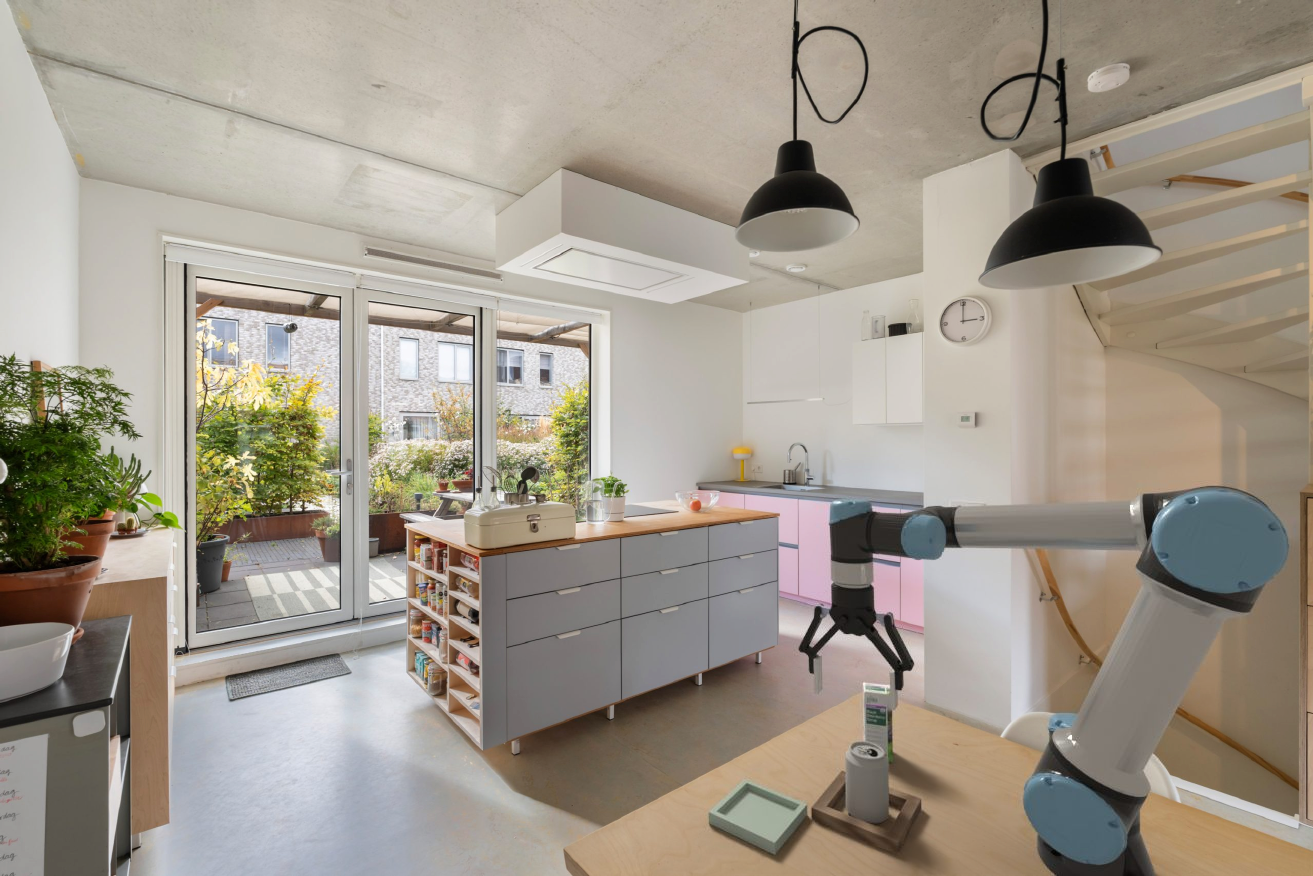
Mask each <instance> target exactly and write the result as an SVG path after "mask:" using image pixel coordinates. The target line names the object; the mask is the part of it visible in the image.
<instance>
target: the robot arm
mask: <svg viewBox="0 0 1313 876" xmlns="http://www.w3.org/2000/svg"><path fill="white" fill-rule="evenodd" d="M828 526H829V538H830V540H829V541H830V542H829V543H830V580H831V581H832V583H831V584H830V587H831V588H830V589H831V590H830V594H831V595H830V596H831V597H830V599H831V600H830V601H831V607H829V606H825V604H824V603H819V604H818V605H816V606H815V607H814V609H813V610H814V611H813V619H811V622H810V625H809V627H808V629H807V630H806V632H805V634H804V636H803V638H802V640H801V642H800V644H799V646H798V647H797V648H798V652H799V653H802V654H806V656H807V657H808V672H809V674H811V675H813V687H814V689H813V690H814V694H816V695H819V694H820V693H821V691H822V690H823V689H824V688H823V658H822V657H823V656H822V654H818V653H819V652H820V651H821V650H822V649H823V647H824V646H825V645H826V644H827V643H828V642H829V641H830V640H831V639H832V637H834V636H835V635H836V634H837V633H838V631H840V632H841V633H843V635H854V636H856V637H862V636H865V637H866V638H867V640H868V641H870V642H871V643H872V645H874V648H876V650H877V651H878V652H879V653H880V655H881V656H882V657H883V658H884V659H885V661H886V662H887V663H888V664H889V666H890V667H891V669H890V671H889V685H890V704H891V710H892V711H896V709H897V708H898V706H899V694H898V691H902V690H903V688H904V681H905V680H904V672H911V671H912V670H913V668H914V666H915V662H914V660H913V658H912V656H911V653H910V651H909V650H908V648H907V646H906V644H905V642H904V640H903V639H902V636H901V634H900V633H899V630H898V629H897V626H896V625H895V619H894V614H893V612H889V611H888V612H886V613H877V611H876V610H875V609H876V608H875V588H874V585H872V583H874V581H875V579H874V577H875V575H874V555H882V556H883V555H884V556H891V557H899V558H907V559H912V560H913V559H914V560H916V561H921V560H928V561H929V560H931V561H936V560H939V559H940V558H941V557H942V556H943V553H944V552H945V550H946V549H964V548H967V549H1015V550H1017V549H1022V550H1025V549H1026V550H1032V549H1033V550H1034V549H1035V550H1078V551H1079V550H1081V551H1082V550H1083V551H1084V550H1085V551H1086V550H1088V551H1091V550H1092V551H1139V552H1141V554H1140V556H1139V558H1138V560H1137V562H1136V564H1135V567H1134V570H1135V572H1136V574H1137V575H1138V577H1139V580H1141V581H1140V582H1141V587H1140V589H1139V590H1138V593H1137V595H1136V597H1135V599H1134V601H1133V603H1132V605H1131V607H1130V609H1129V611H1128V613H1127V615H1126V617H1125V619H1124V621H1123V623H1122V625H1121V627H1120V629H1119V630H1118V632H1117V635H1116V637H1115V639H1114V641H1113V643H1112V644H1111V647H1110V649H1109V651H1108V653H1107V655H1106V657H1105V659H1104V660H1103V663H1102V665H1101V667H1100V669H1099V671H1098V672H1097V675H1096V677H1095V679H1094V681H1093V683H1092V685H1091V687H1090V689H1089V691H1088V693H1087V695H1086V697H1085V699H1084V700H1083V703H1082V705H1081V706H1080V709H1079V710H1078V712H1077V713H1070V712H1058V713H1054V714H1052V715H1050V717H1049V722H1048V726H1047V730H1048V736H1049V737H1048V742H1047V745H1046V747H1045V749H1044V751H1043V753H1042V754H1041V756H1040V758H1039V761H1038V763H1037V765H1036V766H1035V768H1034V771H1033V772H1032V774H1031V776H1030V777H1029V778H1028V779H1027V780H1026V782H1025V784H1024V785H1023V786H1024V787H1023V795H1022V803H1023V809H1024V812H1025V815H1026V816H1027V819H1028V821H1029V823H1030V825H1031V826H1032V828H1033V830H1034V831H1035V832H1036V833H1037V835H1036V842H1037V843H1036V845H1037V846H1036V849H1037V854H1038V855H1039V857H1040V859H1041V861H1042V862H1043V864H1044V865H1045V866H1046V867H1047V868H1048V869H1049V870H1050V871H1051V872H1052V873H1054V874H1055V875H1056V876H1057V875H1058V876H1156V871H1155V868H1154V865H1153V863H1152V860H1151V858H1150V855H1149V853H1148V849H1147V846H1146V844H1145V841H1144V839H1143V837H1142V834H1141V809H1142V807H1143V805H1144V803H1145V802H1146V799H1147V798H1148V796H1149V794H1150V793H1151V791H1152V790H1151V789H1152V788H1151V783H1150V781H1149V778H1148V777H1147V775H1146V773H1145V772H1144V770H1145V768H1146V766H1147V764H1148V763H1149V761H1150V758H1151V757H1152V755H1153V753H1154V752H1155V750H1156V747H1157V746H1158V745H1159V743H1160V741H1161V739H1162V737H1163V735H1164V733H1165V732H1166V729H1167V728H1168V726H1169V724H1170V722H1171V721H1172V719H1173V717H1174V715H1175V713H1176V711H1177V709H1178V708H1179V706H1180V704H1181V702H1183V701H1182V700H1183V699H1184V696H1186V693H1187V691H1188V689H1189V688H1190V685H1191V684H1192V682H1193V680H1194V678H1195V677H1196V675H1197V673H1198V671H1199V669H1200V668H1201V666H1202V664H1203V662H1204V660H1205V659H1206V657H1207V655H1208V653H1209V651H1210V650H1211V647H1212V645H1213V644H1214V642H1215V641H1216V638H1218V637H1217V636H1219V633H1220V631H1221V629H1222V627H1223V626H1224V624H1225V622H1226V621H1227V620H1229V619H1233V618H1237V617H1243V616H1247V615H1250V613H1251V612H1252V609H1253V607H1254V605H1255V604H1256V603H1257V600H1258V598H1259V597H1260V595H1261V594H1262V591H1263V590H1264V589H1265V586H1266V585H1267V584H1268V582H1270V581H1271V580H1273V579H1274V577H1275V576H1276V575H1278V574H1279V573H1280V572H1281V571H1282V569H1283V568H1284V567H1285V564H1286V561H1287V560H1288V556H1289V552H1290V545H1289V537H1288V534H1287V533H1288V532H1287V530H1286V528H1285V526H1284V524H1283V523H1282V521H1281V519H1280V517H1278V516H1277V515H1276V513H1274V512H1273V511H1272V510H1271V508H1270V506H1268V504H1267V503H1265V502H1264V501H1263V500H1261V499H1260V498H1258V497H1257V496H1255V495H1253V494H1251V493H1249V492H1247V491H1244V490H1241V489H1238V488H1235V487H1231V486H1225V485H1205V486H1197V487H1194V488H1187V489H1181V490H1175V491H1174V490H1173V491H1164V492H1155V493H1154V492H1151V493H1149V492H1148V493H1140V494H1139V495H1138V496H1136V497H1135V498H1134V499H1133V500H1117V501H1116V500H1115V501H1114V500H1113V501H1111V500H1110V501H1089V502H1088V501H1085V502H1080V501H1079V502H1058V503H1057V502H1055V503H1031V504H1030V503H1029V504H1028V503H1025V504H1023V503H1022V504H1000V505H999V504H997V505H993V504H992V505H991V504H990V505H971V506H969V505H967V506H965V505H964V506H942V505H931V506H930V505H929V506H926V507H925V508H921V509H917V510H912V511H908V512H903V513H902V512H901V513H899V512H880V511H874V510H873V505H872V502H871V501H870V500H867V499H861V498H842V499H834V500H833V501H832V502H831V503H830V505H829V522H828ZM828 615H829V616H830V618H831V620H832V621H833V622H834V624H832V626H831V627H830V628H829V629H828V630H827V631H826V633H825V634H823V636H822V637H821V638H820V639H819V640H818V641H817V642H816V643H815V644H814V646H811V643H812V641H813V639H814V637H815V635H816V633H817V631H818V629H819V627H820V625H821V623H822V620H823V619H825V618H826V617H827V616H828ZM876 622H879V623H880V625H881V626H882V627H884V629H885V632H886V633H887V636H888V638H889V640H890V642H891V643H892V646H893V647H894V650H895V652H896V653H897V654H896V653H895V652H894V651H893V649H892V648H891V647H890V646H889V644H888V643H887V642H886V640H885V639H884V638H883V637H882V635H881V634H880V633H879V631H878V629H877V628H876V627H875V626H874V625H875V624H876Z"/></svg>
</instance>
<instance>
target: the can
mask: <svg viewBox="0 0 1313 876" xmlns="http://www.w3.org/2000/svg"><path fill="white" fill-rule="evenodd" d="M889 763H890V762H889V761H888V759H887V757H886V756H885V751H884V750H883V749H882V748H881V747H880V746H878V745H876V744H874V743H871V742H866V741H863V740H858V741H857V740H856V741H853V742H851V743H850V744H849V746H848V750H847V751H846V752H845V772H846V792H845V808H846V810H847V812H848V813H849V815H850V816H852V817H854V818H857V819H859V820H862V821H864V822H867V823H869V824H872V825H874V826H877V825H879V824H881V823H883V822H884V821H886V820H887V819H888V818H889V816H890V808H889V807H890V806H889V805H890V804H889V787H890V786H889V785H890V783H889V782H890V781H889V777H890V776H889V774H890V771H889V770H890V769H889V767H890V765H889Z"/></svg>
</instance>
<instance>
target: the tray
mask: <svg viewBox="0 0 1313 876" xmlns="http://www.w3.org/2000/svg"><path fill="white" fill-rule="evenodd" d="M807 816H808V803H806V802H803V801H801V800H798V799H796V798H793V797H791V796H788V795H786V794H783V793H782V792H779V791H776V790H774V789H771V788H769V787H766V786H763V785H761V784H759V783H756V782H754V781H751V780H749V779H747V778H744V779H743V780H742V781H741V782H740V783H738V784H737V785H736V786H735V787H734V788H733V789H732V790H731V791H729V793H728V794H726V796H724V797H723V798H722V799H721V800H719V802H718V803H717V804H715V806H714V807H712V808H711V809H710V810H709V811H708V824H709V825H712V826H714V827H715V828H718V829H721V830H722V831H724V832H727V834H730V835H732V836H734V837H736V838H739V839H741V840H743V841H745V842H747V843H749V844H751V845H753V846H755V847H757V848H760V849H762V850H764V851H766V852H768V853H769V854H771V855H774V856H775V855H776V854H777V853H778V852H779V851H780V850H781V848H782V847H783V846H784V844H786V842H787V841H788V839H789V838H790V837H791V835H793V833H795V831H797V828H798V827H799V826H800V825H801V823H802V822H803V821H804V820H805V819H806V817H807Z"/></svg>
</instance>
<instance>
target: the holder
mask: <svg viewBox="0 0 1313 876" xmlns="http://www.w3.org/2000/svg"><path fill="white" fill-rule="evenodd" d="M844 795H846V770H840V772H839V774H837V776H836V777H835V778H834V779H833V781H832V782H831V783H830V784H829V786H827V787H826V789H825V790H824V791H823V792H822V794H821V795H820V796H819V798H817V800H816V802H815V803H814V804H813V805H812V806H811V816H810V817H811V819H812V820H814V821H817V822H819V823H821V824H823V825H826V826H828V827H831V828H833V829H835V830H837V831H840V832H841V833H845V834H847V835H850V836H851V837H854V838H856V839H859V840H862V841H864V842H867V843H868V844H871V845H872V846H876V847H878V848H880V849H883V850H884V851H888V852H890V853H892V854H895V855H899V853H900V852H901V849H902V848H903V846H904V844H905V842H906V840H907V838H908V837H909V834H910V832H911V830H912V828H913V827H914V824H915V823H916V820H917V819H918V817H919V815H920V813H921V812H922V798H920V797H918V796H915V795H912V794H909V793H906V792H904V791H900V790H898V789H895V788H893V787H890V786H889V805H890V806H893V807H897V808H899V809H901V810H900V811H899V813H898V815H897V817H896V818H895V819H894V821H893V823H892V824H891V825H892V826H891V827H890V828H889V830H887V829H884V828H882V827H879V826H877V825H872V824H869V823H867V822H864V821H862V820H859V819H857V818H854V817H853V816H852V815H850V814H847V813H844V812H842V811H839V810H837V809H834V808H835V807H836V806H837V804H838V803H839V802H840V800H841V799H842V797H843V796H844Z"/></svg>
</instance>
